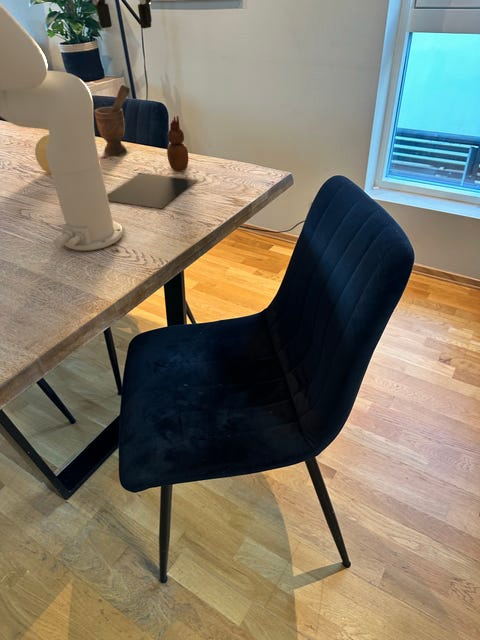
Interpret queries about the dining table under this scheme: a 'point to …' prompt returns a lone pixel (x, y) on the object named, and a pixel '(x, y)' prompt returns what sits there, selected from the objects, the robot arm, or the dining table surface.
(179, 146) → the wooden figurine
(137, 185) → the mat
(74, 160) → the robot arm
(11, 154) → the dining table surface
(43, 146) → the sculpture
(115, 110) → the mortar and pestle
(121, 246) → the dining table surface
